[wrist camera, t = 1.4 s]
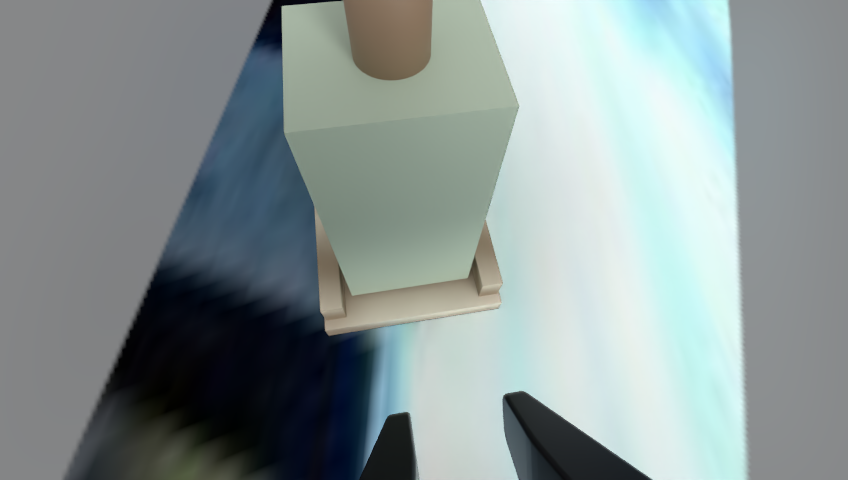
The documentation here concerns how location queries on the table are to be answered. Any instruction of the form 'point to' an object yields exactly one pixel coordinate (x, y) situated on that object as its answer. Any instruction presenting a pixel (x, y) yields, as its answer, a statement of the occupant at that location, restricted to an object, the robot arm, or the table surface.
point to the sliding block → (397, 132)
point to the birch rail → (404, 292)
